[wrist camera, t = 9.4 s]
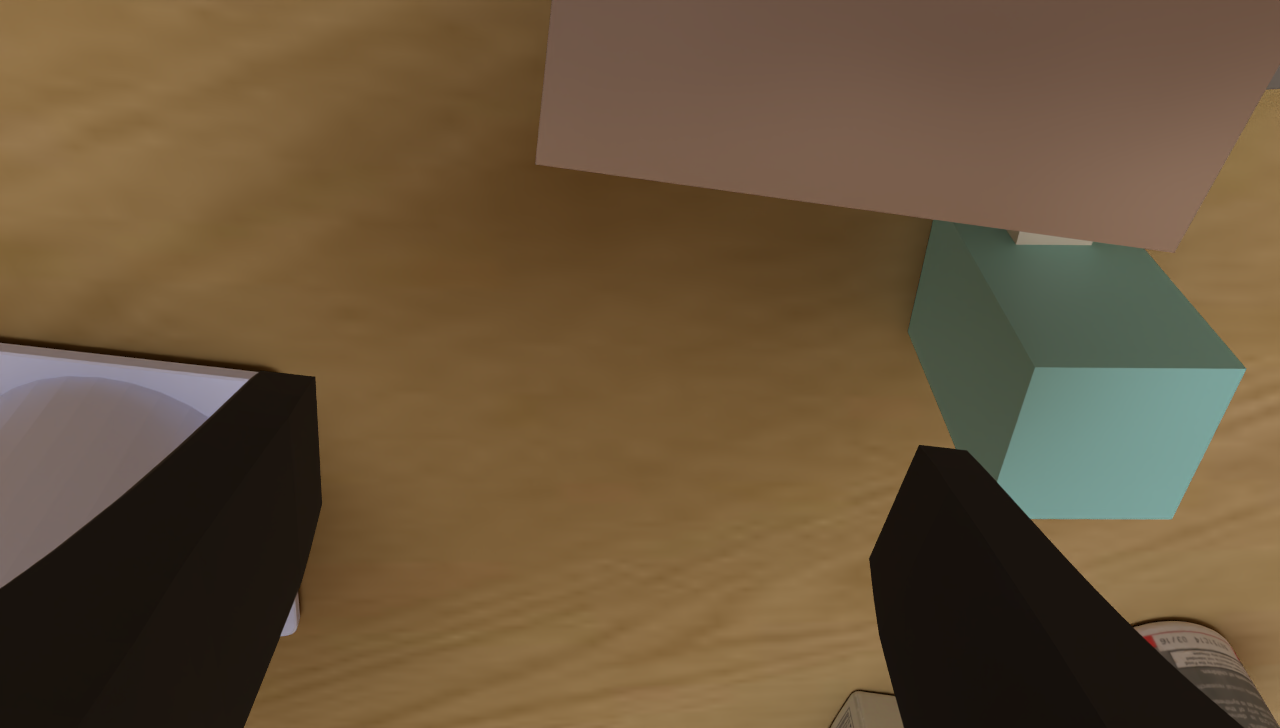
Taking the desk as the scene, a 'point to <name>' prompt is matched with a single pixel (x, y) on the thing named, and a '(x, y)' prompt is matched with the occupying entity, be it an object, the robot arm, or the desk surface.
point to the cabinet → (918, 104)
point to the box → (869, 712)
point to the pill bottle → (1210, 669)
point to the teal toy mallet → (1069, 370)
